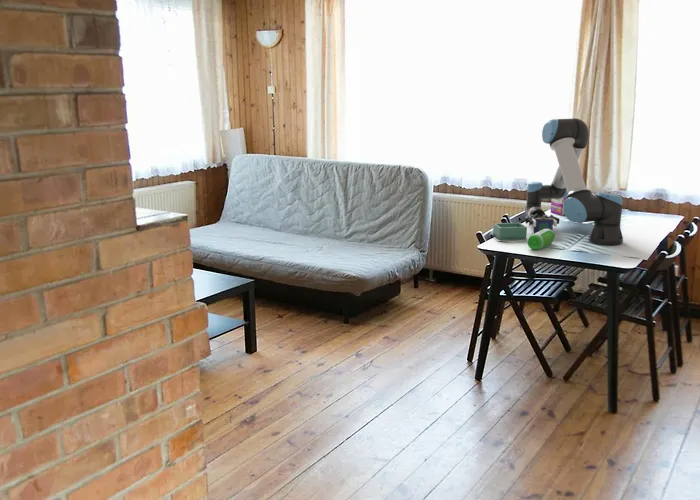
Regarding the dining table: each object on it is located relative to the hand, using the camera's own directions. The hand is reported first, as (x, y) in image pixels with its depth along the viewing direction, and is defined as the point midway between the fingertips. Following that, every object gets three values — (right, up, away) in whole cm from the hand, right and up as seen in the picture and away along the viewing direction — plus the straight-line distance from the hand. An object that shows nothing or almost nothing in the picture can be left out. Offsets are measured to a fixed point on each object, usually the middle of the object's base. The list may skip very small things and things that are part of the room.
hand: (545, 224), depth 319 cm
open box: (-17, -6, +5) cm, 18 cm away
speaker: (-6, -11, -14) cm, 19 cm away
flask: (0, -6, +6) cm, 9 cm away
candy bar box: (+26, +8, +60) cm, 66 cm away
